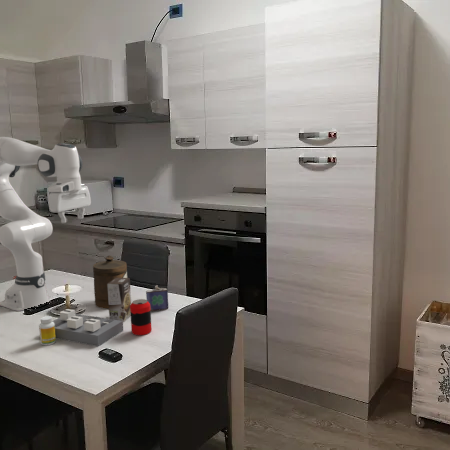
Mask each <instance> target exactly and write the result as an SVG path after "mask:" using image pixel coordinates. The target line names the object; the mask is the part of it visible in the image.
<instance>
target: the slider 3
mask: <svg viewBox="0 0 450 450" xmlns="http://www.w3.org/2000/svg"><path fill="white" fill-rule="evenodd" d="M84 326H85V330H86V331H92V332H94V331H96V330H98V329H99V328H101V326H100V320H97V319H90V320H88V321H86V322H84Z"/></svg>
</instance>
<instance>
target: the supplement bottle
mask: <svg viewBox="0 0 450 450" xmlns="http://www.w3.org/2000/svg"><path fill="white" fill-rule="evenodd" d="M39 320H40V324H39V325H38V330H39V340H40V341H39V342H40V344H41V345H42V346H50V345H53V344H55V343H56V342H57V338H56V334H55V324H54V322H52V321H53V317H52V316H51V315H46V316H42V317H40V319H39Z"/></svg>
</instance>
